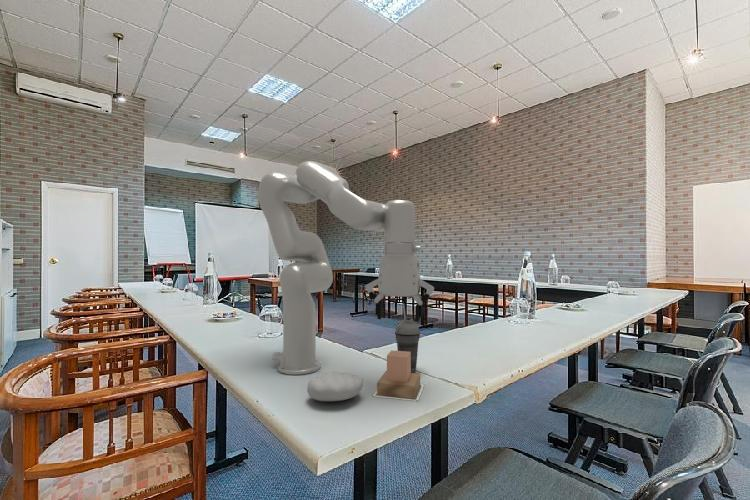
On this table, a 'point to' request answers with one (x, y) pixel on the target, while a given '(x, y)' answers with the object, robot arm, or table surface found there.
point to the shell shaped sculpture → (334, 387)
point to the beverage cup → (408, 338)
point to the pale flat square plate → (404, 398)
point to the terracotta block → (398, 366)
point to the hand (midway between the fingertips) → (398, 319)
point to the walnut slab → (399, 387)
